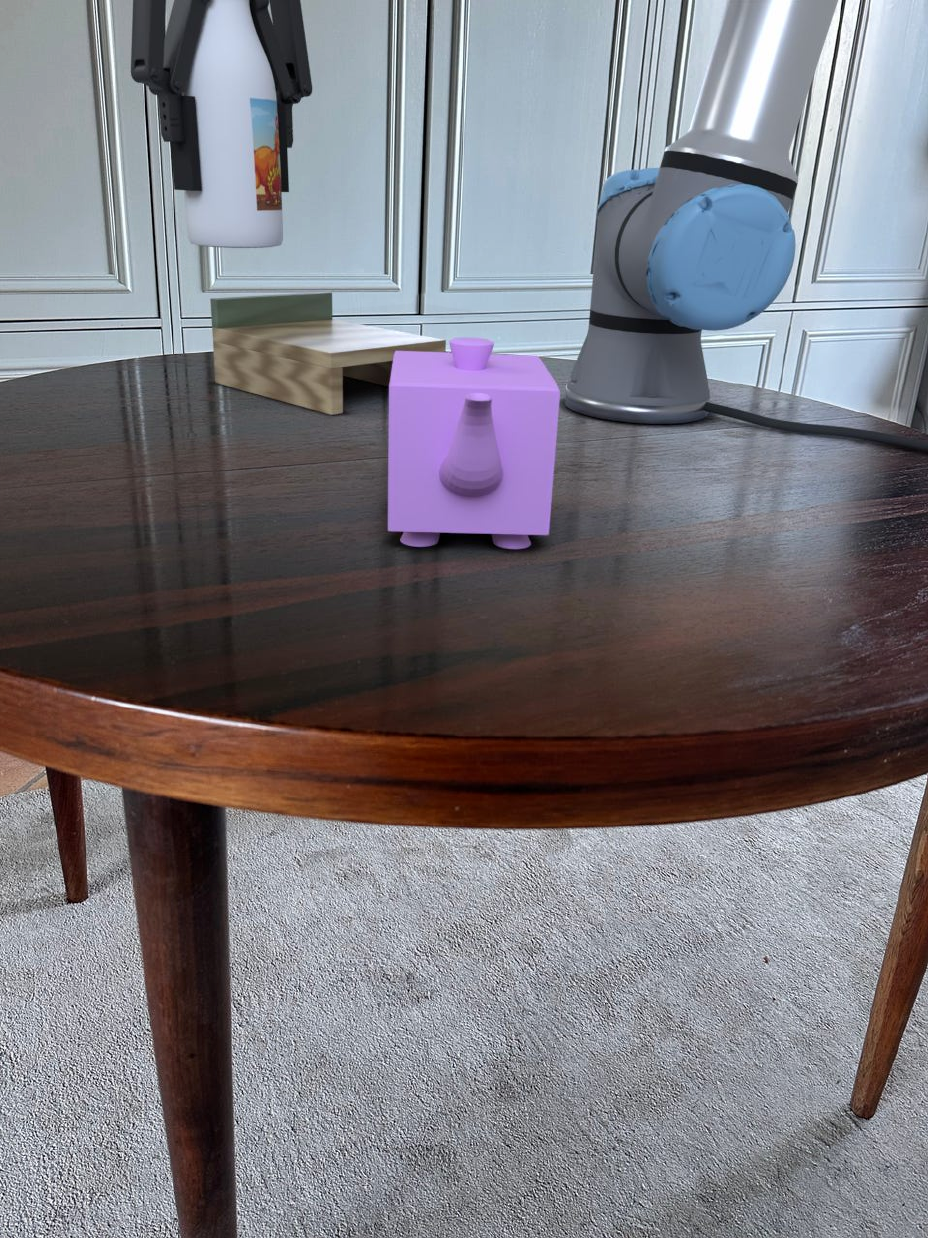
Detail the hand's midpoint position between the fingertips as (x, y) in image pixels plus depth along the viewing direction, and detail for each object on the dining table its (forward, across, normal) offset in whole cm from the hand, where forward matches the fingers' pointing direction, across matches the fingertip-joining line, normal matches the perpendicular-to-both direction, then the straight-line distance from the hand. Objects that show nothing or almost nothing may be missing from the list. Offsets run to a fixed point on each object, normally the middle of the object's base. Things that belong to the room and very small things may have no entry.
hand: (233, 190), depth 80 cm
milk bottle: (+4, 0, 0) cm, 4 cm away
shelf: (+20, -20, -12) cm, 31 cm away
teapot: (+21, +4, +31) cm, 37 cm away
